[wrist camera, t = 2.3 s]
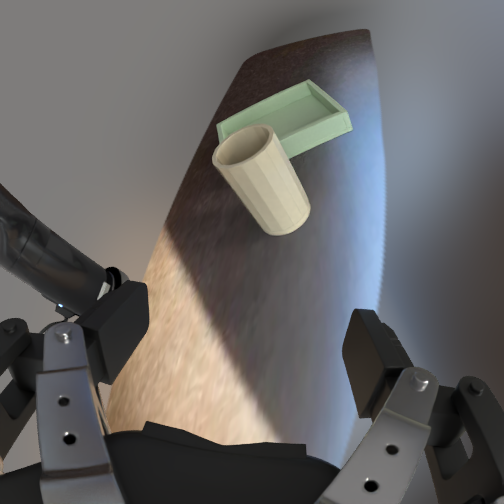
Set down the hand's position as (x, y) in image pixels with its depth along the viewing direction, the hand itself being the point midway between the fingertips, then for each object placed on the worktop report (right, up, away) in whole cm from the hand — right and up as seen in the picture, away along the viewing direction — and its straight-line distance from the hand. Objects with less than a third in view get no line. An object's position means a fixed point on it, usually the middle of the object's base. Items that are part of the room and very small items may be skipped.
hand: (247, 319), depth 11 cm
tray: (+4, +21, +30) cm, 37 cm away
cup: (+4, +7, +21) cm, 22 cm away
